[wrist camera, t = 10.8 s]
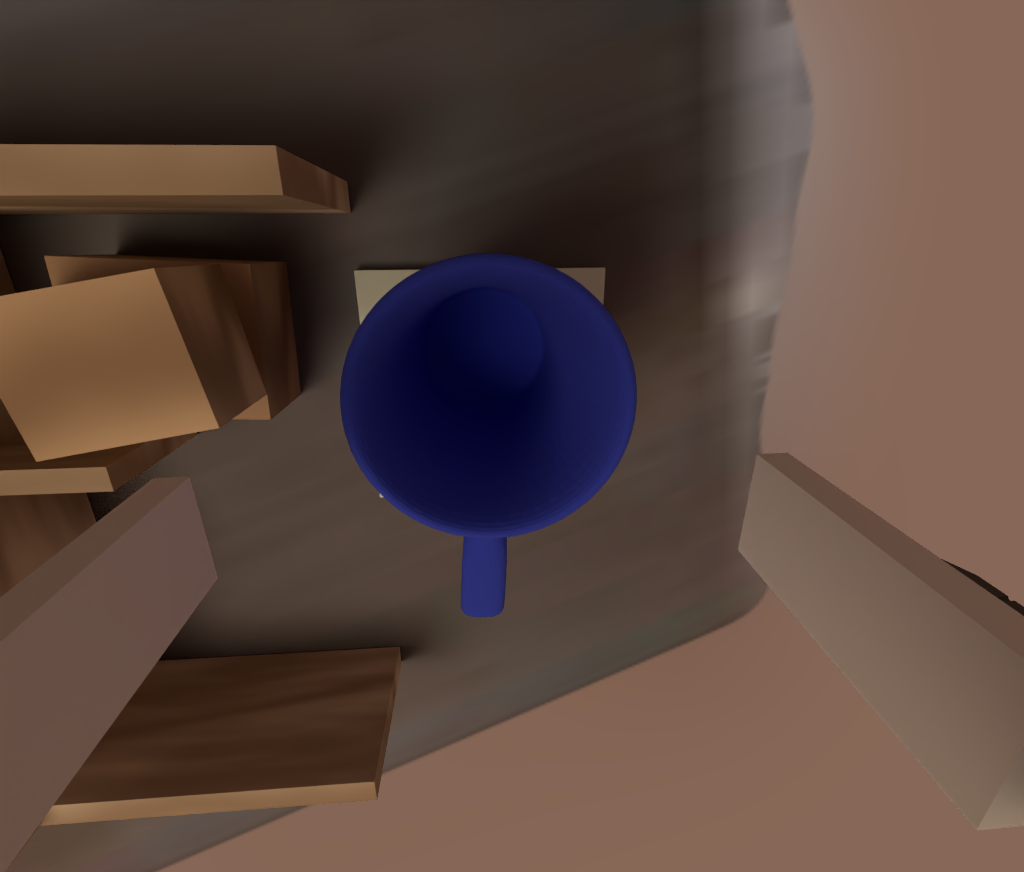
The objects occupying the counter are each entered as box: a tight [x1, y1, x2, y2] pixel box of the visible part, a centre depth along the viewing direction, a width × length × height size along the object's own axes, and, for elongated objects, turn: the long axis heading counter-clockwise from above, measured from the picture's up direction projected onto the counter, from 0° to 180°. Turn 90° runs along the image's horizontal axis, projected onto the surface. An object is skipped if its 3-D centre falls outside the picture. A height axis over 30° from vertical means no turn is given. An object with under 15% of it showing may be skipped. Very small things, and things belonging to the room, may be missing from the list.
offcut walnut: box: [44, 255, 301, 420], centre depth 21 cm, size 6×7×4 cm
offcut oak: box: [0, 264, 267, 462], centre depth 17 cm, size 5×6×4 cm
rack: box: [0, 144, 401, 866], centre depth 20 cm, size 26×16×10 cm, turn 0°
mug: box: [340, 253, 637, 617], centre depth 19 cm, size 8×12×10 cm
